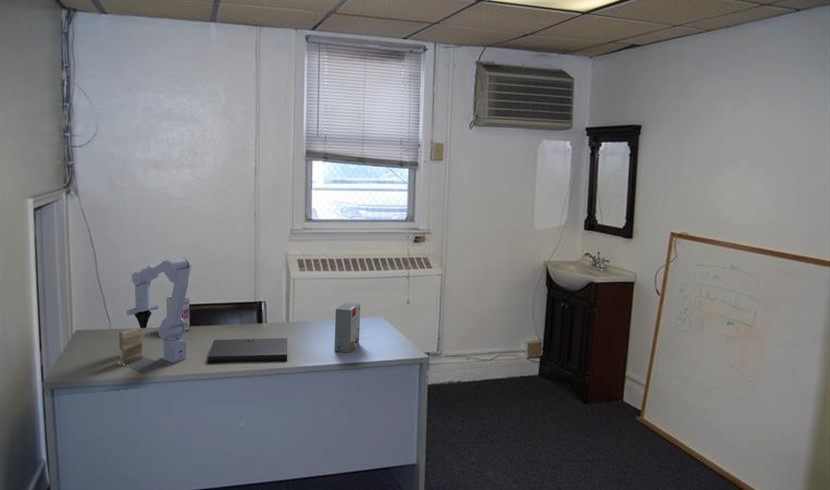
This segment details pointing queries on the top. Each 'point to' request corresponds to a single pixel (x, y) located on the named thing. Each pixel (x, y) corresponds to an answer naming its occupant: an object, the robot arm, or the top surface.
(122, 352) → the maple block
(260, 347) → the closed laptop
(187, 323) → the candy bar box
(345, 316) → the hard drive box
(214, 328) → the top surface
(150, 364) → the mat
